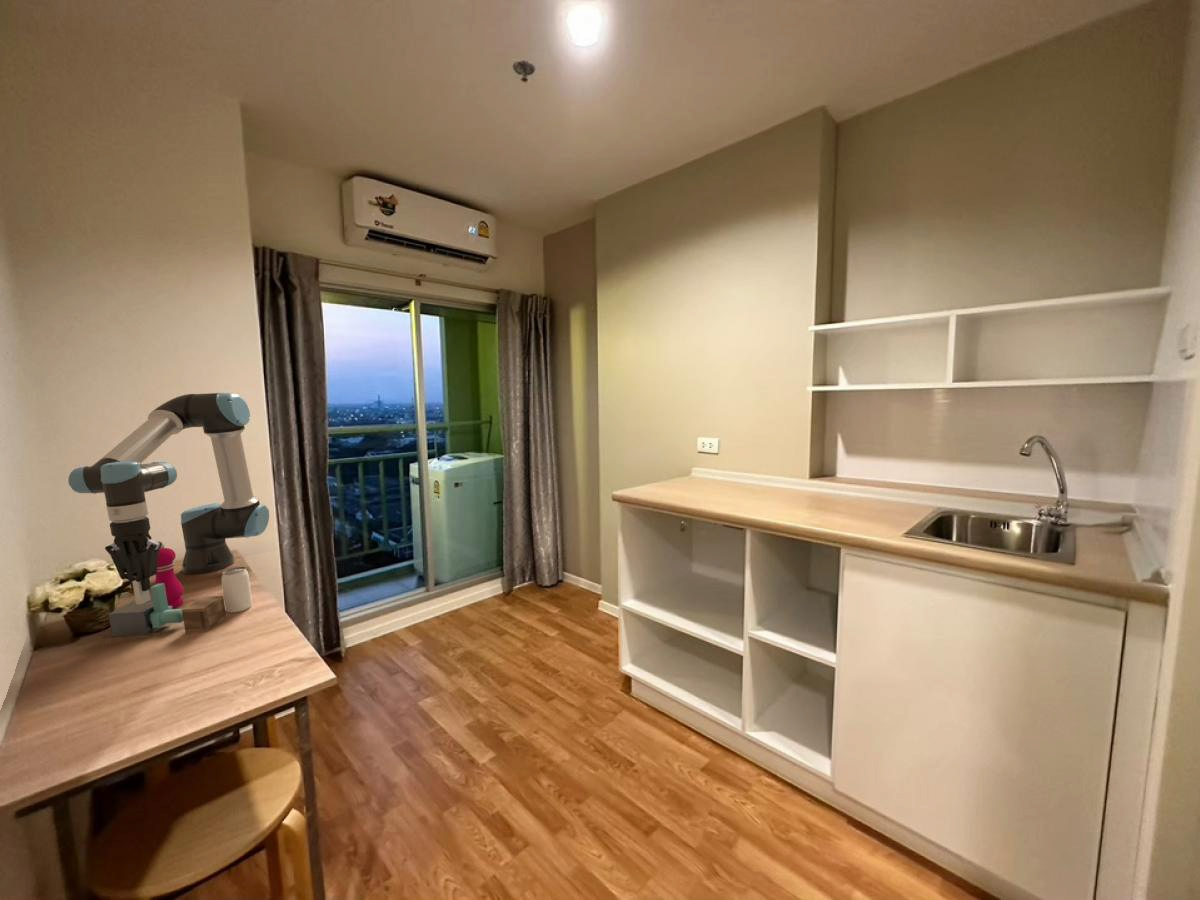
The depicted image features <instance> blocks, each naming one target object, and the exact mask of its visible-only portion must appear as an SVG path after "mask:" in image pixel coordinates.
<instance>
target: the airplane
mask: <svg viewBox="0 0 1200 900" xmlns="http://www.w3.org/2000/svg"><path fill="white" fill-rule="evenodd" d="M149 592H150V597H151V601H152V602H153V608H154V611H150V612H148V615H149V621H150V624H152V627H153V628H158V629H160V628H163V626H165V625H167V624H175V623H176V624H177V623H178V624H179V623H184V621H183V615H182V609H183V608H179V609H178V608H175V609H172V606H168V602H167V596H166V590H165V584H164V583H162V584H156V585H155V584H154V585H152V586H151V587H150V589H149Z"/></svg>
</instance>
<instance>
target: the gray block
mask: <svg viewBox="0 0 1200 900" xmlns="http://www.w3.org/2000/svg"><path fill="white" fill-rule="evenodd" d="M150 611H154V608H153V602H152V600H149V601H147V602H145V603H143V604H136V601H132V602H128V603H127V604H125V605H124V606H121V607H119V608H117V609H115V610H113V611H111V612H109V613H108V619H109V625H110V630H111V631H110V632H111V636H112V637H113V638H116V637H117V638H119V637H131V636H133V637H134V636H148V635H150V634H152V633H153V632H155V631H156V630H159V628H153V627H152V624H150V621H149V615H148V612H150Z"/></svg>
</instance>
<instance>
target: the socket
mask: <svg viewBox="0 0 1200 900" xmlns="http://www.w3.org/2000/svg"><path fill="white" fill-rule="evenodd" d="M181 609H182V615H183V626H184V633H185V634H193V633H196V634H197V633H207V632H208V631H210V630H212V629H213V628H214V626H215V627H216V626H217V625H219V624H220V623H222V622H224V621H225V620H226V619H227V613H226V612H227V611H226V608H225V602H224V595H219V596H218V595H217V596H216V595H214V596H203V597H201V598H199V599H197V600H195V601H193V602H192V603H190V604H188V605H187V606H185V607H184V608H181ZM221 621H222V622H221Z"/></svg>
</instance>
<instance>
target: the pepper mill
mask: <svg viewBox="0 0 1200 900" xmlns="http://www.w3.org/2000/svg"><path fill="white" fill-rule="evenodd" d="M176 555H177V554H176V552H175V551H174V549H172V548H167V547H165V545H164V543H162V545H161V547H160V549H159V556H158V567H157V574H156V575H155V583H154V585H156V584H162V583H164V584H165V590H166V596H167V602H168V606H172V609H178V608H180V607H181V606H183V605H184V603H185V602H184V597H182V596H183V594H184V592H185V589H184V586H183V584H182V582H181V581H180V580H179V579H178V578H177V576H176V574H175V571H174V569H175V567H176V565H175V564H176V563H175V562H174V560H175V559H176Z"/></svg>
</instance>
